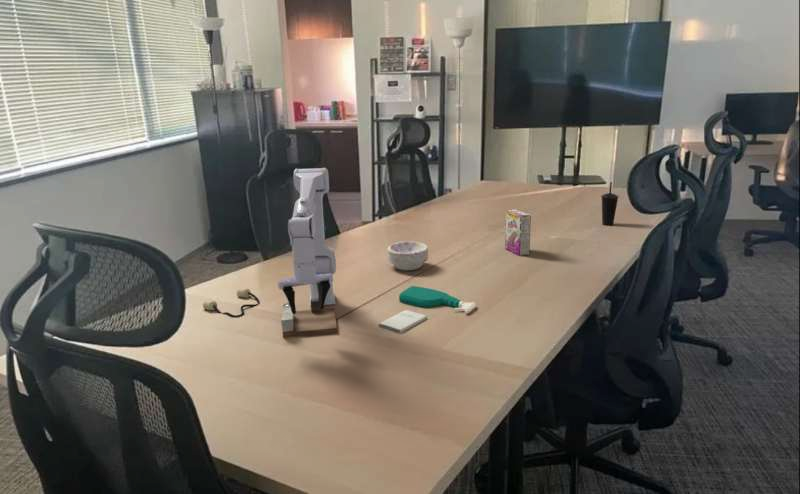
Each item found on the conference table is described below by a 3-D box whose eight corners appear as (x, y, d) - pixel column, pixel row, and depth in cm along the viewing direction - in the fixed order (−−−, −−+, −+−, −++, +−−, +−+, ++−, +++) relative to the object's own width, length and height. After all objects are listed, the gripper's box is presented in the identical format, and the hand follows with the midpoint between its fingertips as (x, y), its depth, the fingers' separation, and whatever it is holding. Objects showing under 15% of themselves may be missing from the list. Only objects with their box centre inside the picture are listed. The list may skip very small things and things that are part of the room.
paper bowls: (405, 276, 203) (405, 255, 201) (380, 266, 214) (379, 246, 212) (436, 266, 212) (436, 246, 210) (410, 258, 223) (410, 239, 221)
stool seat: (285, 316, 171) (283, 301, 169) (334, 312, 173) (333, 297, 171) (283, 337, 157) (281, 321, 155) (337, 332, 159) (335, 316, 157)
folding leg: (284, 314, 168) (283, 303, 167) (294, 313, 168) (293, 302, 167) (282, 331, 156) (281, 320, 155) (293, 330, 156) (292, 319, 155)
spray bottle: (413, 292, 188) (480, 306, 176) (396, 303, 180) (465, 319, 167) (413, 284, 187) (481, 298, 175) (395, 294, 179) (465, 310, 166)
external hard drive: (378, 328, 162) (405, 314, 172) (400, 335, 157) (427, 320, 167) (378, 322, 162) (405, 309, 171) (400, 329, 157) (426, 315, 166)
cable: (274, 303, 183) (273, 293, 182) (233, 321, 170) (232, 310, 169) (242, 294, 191) (241, 284, 190) (201, 310, 179) (200, 300, 178)
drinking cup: (618, 223, 265) (621, 181, 260) (614, 227, 259) (617, 184, 254) (601, 221, 269) (604, 180, 264) (597, 225, 263) (600, 183, 258)
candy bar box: (504, 249, 231) (505, 210, 227) (514, 247, 233) (515, 208, 228) (519, 256, 221) (520, 215, 217) (530, 254, 223) (531, 214, 218)
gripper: (280, 268, 142) (284, 319, 145) (335, 261, 148) (338, 310, 151) (274, 262, 148) (278, 311, 151) (327, 255, 154) (330, 303, 157)
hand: (307, 310), depth 151 cm, fingers open, 7 cm apart
